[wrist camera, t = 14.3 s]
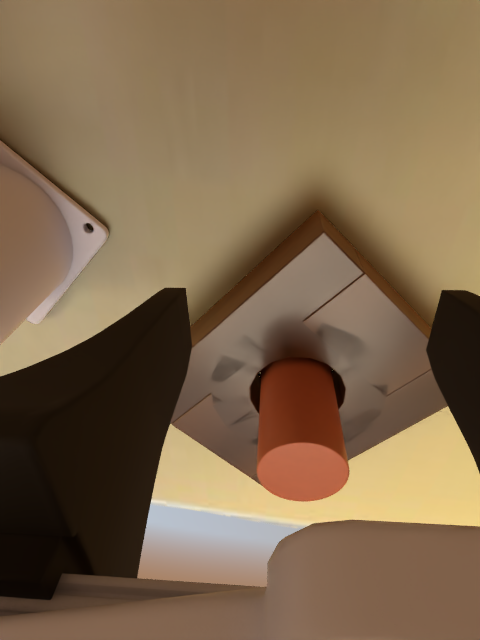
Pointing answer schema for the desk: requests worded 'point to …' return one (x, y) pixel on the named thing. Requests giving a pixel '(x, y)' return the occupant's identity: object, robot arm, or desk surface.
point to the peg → (300, 431)
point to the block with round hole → (308, 347)
